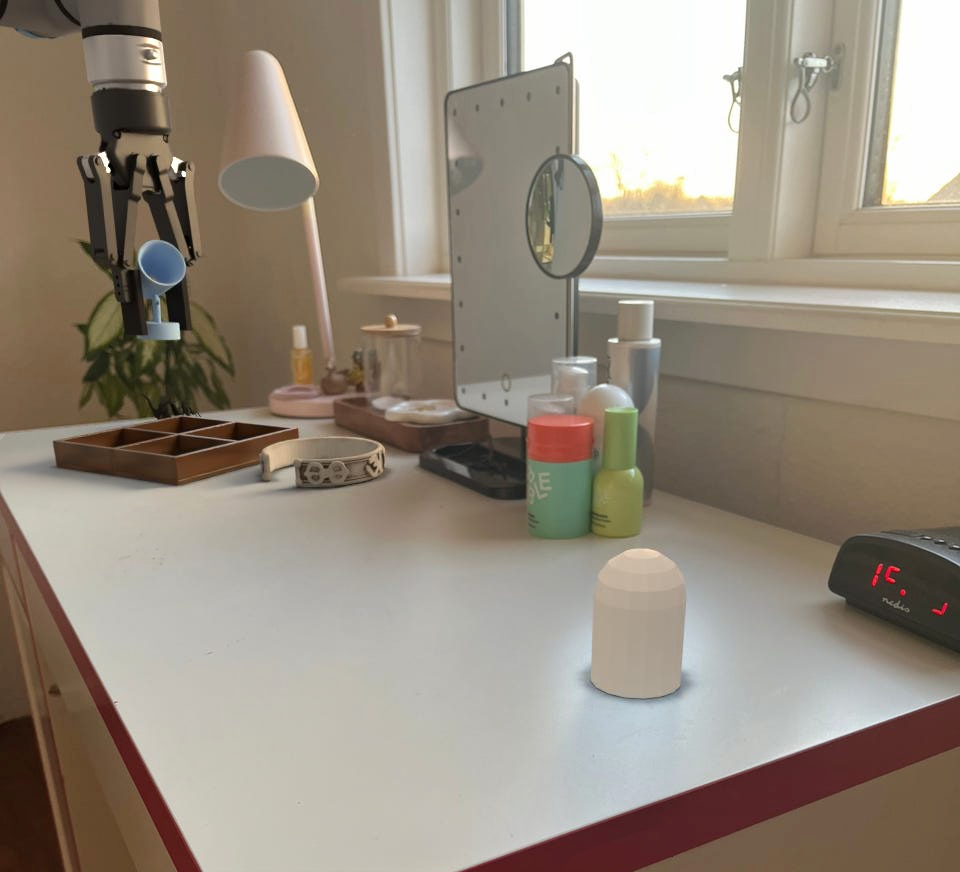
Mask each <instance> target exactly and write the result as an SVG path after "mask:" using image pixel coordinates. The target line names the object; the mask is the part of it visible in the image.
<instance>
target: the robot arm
mask: <svg viewBox="0 0 960 872" xmlns="http://www.w3.org/2000/svg"><path fill="white" fill-rule="evenodd" d="M159 6H160V5H159V0H0V27H5V28H9V29H13V30H15V31H16V32H17V33H19V34H20V35H22V36H23V37H27V38H29V39H33V40H41V39H49V40H58V39H61V38H62V37H64V38H65V37H67V36H69V35H73V34H77V33H78V34H79V33H81V38H82V45H83V54H84V62H85V70H86V76H87V77H86V79H87V84H88V85H89V86H90V87H92V88H94V90H95V91H92V92H91V95H90V96H89V97H90V104H91V112H92V118H93V125H94V127H93V128H94V130H95V131H96V133H98V134H99V135H100V142H99V146H98V152H95V153H93V154H87V155H79V156H77V157H76V165H77V169H79V170H78V171H79V173H80V176H81V179H82V181H83V186H84V197H85V205H86V213H87V214H86V215H87V223H88V232H89V241H90V242H89V243H90V252H91V258H92V260H93V262H94V263H96V264H101V265H102V267H103V268H104V269H106V270H110V271H111V277H112V284H113V291H114V297H115V300H116V302H117V303H120V309H121V316H122V324H123V331H124V336H137V335H139V336H144V335H148V330H147V322H148V321H147V315H146V306H145V298H144V297H143V291H142V283H141V275H140V270H136V269H132V268H133V265H134V264H133V263H134V253H135V242H136V241H135V240H136V230H137V216H138V204H139V202H140V201H141V199H143V200H144V202H146V203H147V205H148V207H149V210H150V214H151V217H152V219H153V223H154V226H155V229H156V233H157V235H158V237H159V240H161V241H165V242H168V243H170V244H171V245H173V246H174V247H175V248H176V249H177V250H178V251H179V252H180V253H181V254H182V256H183V258H184V261H185V264H186V272H185V275H184V277H183V279H182V280H181V281H180V282H179V283H177V284H176V285H174V286H173V287H172V288H170V289H169V290H167V291H166V292H164V294H165V303H166V311H167V319H168V322H177V323H179V328H180V331H185V332H188V331H192V330H193V326H192V325H193V324H192V316H191V315H192V314H191V308H190V307H191V306H190V298H192V287H191V285H192V284H191V276H190V267H195V266H196V264H197V261H200V260H201V259H202V258H203V248H202V247H203V246H202V240H201V232H200V227H199V226H200V225H199V218H198V211H197V204H196V196H195V189H194V180H195V171H196V166H195V164H194V162H193V161H191V160H181V159H179V158H177V157H175V156H174V152H173V151H172V148H171V146H170V143H169V136H170V134H172V132H173V123H172V115H171V113H172V112H171V105H170V104H171V103H170V98H169V97H168V96H167V94H166V93H164V92H162V90H164V89H165V88H166V87H167V86H168V81H167V80H168V79H167V72H166V62H165V55H164V46H163V45H164V44H163V37H162V26H161V15H160V7H159ZM109 174H110V176H109Z"/></svg>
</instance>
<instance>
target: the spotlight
mask: <svg viewBox="0 0 960 872" xmlns="http://www.w3.org/2000/svg"><path fill="white" fill-rule="evenodd" d="M137 252H138V253H137V260H136V268H135V270H140V275H141V283H142V291H143V299H146V300H151V301H152V314H153V321H150V320H149V321H146V322H147V330H148V335H144V336H139V335H136V339H138V340H146V341H147V340H149V341H176V340H181V330H180V328H179V323H177V322H169V321H162V313H161V312H162V311H161V299H160V296H162V295H163V294H165V292H166V291H167V290H169V289H170V288H172V287H173V286H174V285H176V284H177V283H179V282H180V281H181V280H182V279H183V277H184V275H185V272H186V264H185V261H184V258H183V256H182V254H181V253H180V252H179V251H178V250H177V249H176V248H175V247H174V246H173V245H171V244H170V243H168V242H165V241H161V240H160V239H151V240H149V241H146V242H144V243H143V244H142V245H141V247H140V248H139V250H138V251H137ZM152 278H153V279H152ZM154 279H155V280H154Z"/></svg>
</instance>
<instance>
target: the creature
mask: <svg viewBox="0 0 960 872" xmlns="http://www.w3.org/2000/svg"><path fill="white" fill-rule="evenodd" d="M182 393H183V391H180V393H179V395H178V396H177V398H176V400H173V399H172V396H169V397H168V398H164V399H163V400H162V401H160V402H159V404H158V408H155V407H154V406H153V403H152V401H151V399H150V398H149V397H148V396H147V395H146V394H144V393H140V394H139V395H140V396H143V398H145V399H146V401H147V404H148V406H149V408H150V411H151V412H152V415H153V416H154V418H156V420H160V419H165V418H170V417H172V415H171V413H170V412H169V411H170V410H169V407H168V404H169V406H170V408H171V412H172V414H173V417H175V416H180V415H183V416H191V415H192V416H195V417H202V416H201V415H200V413H199V412H198V411H195V412H194V411H193V409H192V407H191V406H189V405H185V404H186V403H188V400H187V399H185V400H182V402H179V405H178V407H177V406H176V404H175V403H177V401H178V399H182V398H181V397H182ZM179 397H180V398H179Z"/></svg>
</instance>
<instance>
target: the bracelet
mask: <svg viewBox="0 0 960 872" xmlns="http://www.w3.org/2000/svg"><path fill="white" fill-rule="evenodd" d="M259 457H260V463H259V467H260V474H261V478H262V480H263V481H266V482H267V481H268V482H269V481H272V479H273V478H272V472H273V471H277V470H278V469H279V470H280V469H283V468H286V467H290V466H293V467H294V473H295V486H297V487H299V488H300V487H312V488H313V487H335V486H344V485H345V486H346V485H351V484H357V483H362V482H367V481H370V480H373V479H375V478H377V477H379V476H380V475H382V474H383V472H384V470H386V469H387V468H386V466H387V465H386V449H385V447H384V446H383V445H382V444H381V443H380V442H379V441H375V440H372V439H369V438H368V439H367V438H363V437H355V436H329V435H327V436H314V437H313V436H312V437H301V438H300V437H299V439H292V440H287V441H282V442H278V443H275V444H272V445H270V446H267V447H266V448H264V449H263V450H262V452H261V454H259Z"/></svg>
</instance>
